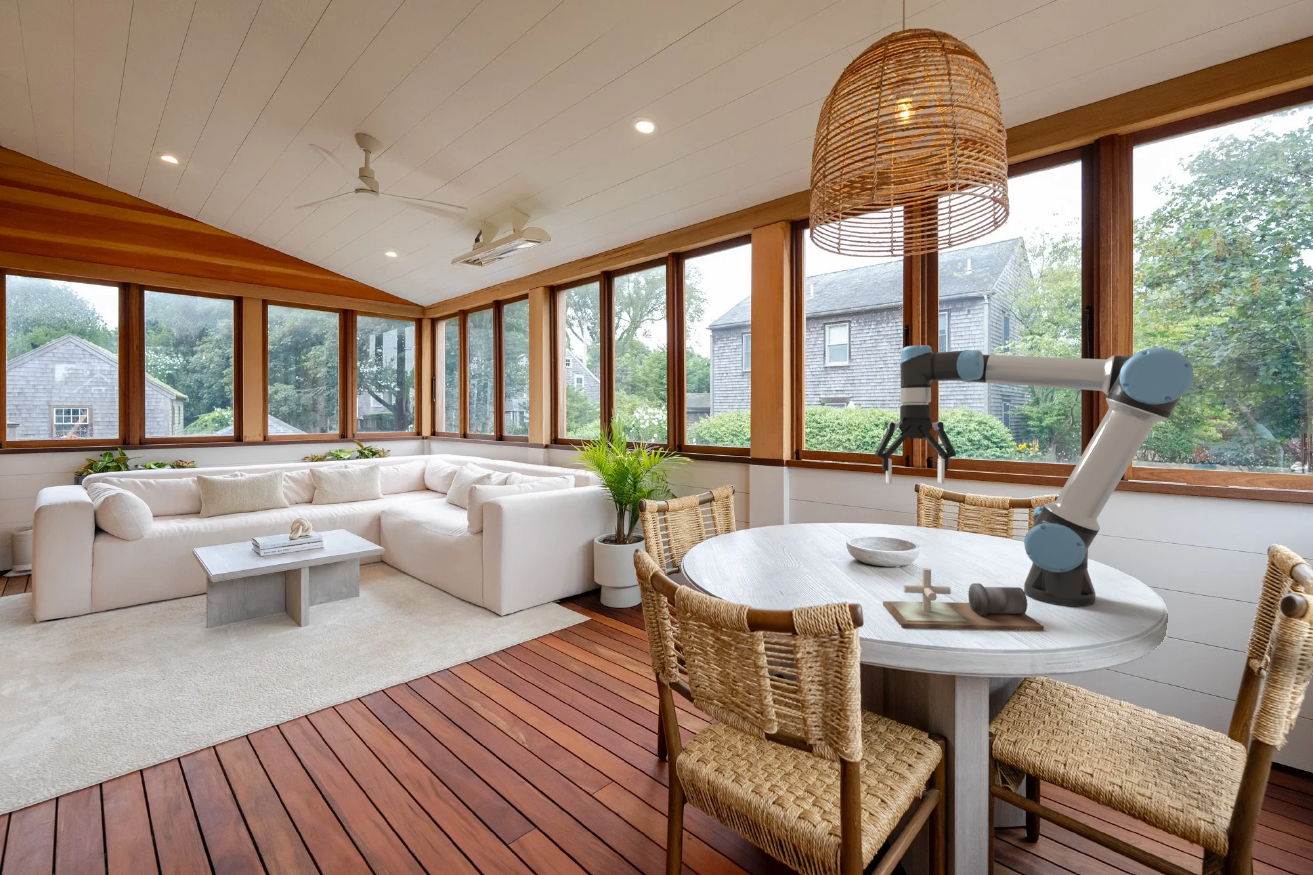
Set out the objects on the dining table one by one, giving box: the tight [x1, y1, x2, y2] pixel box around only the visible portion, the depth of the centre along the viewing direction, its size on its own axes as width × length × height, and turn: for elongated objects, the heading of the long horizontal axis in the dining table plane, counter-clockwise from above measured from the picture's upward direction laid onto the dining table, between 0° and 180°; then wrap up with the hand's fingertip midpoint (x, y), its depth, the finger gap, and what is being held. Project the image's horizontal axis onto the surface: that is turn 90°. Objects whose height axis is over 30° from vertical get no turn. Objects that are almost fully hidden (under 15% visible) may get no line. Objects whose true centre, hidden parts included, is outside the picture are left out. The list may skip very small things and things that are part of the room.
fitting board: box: [882, 582, 1045, 632], centre depth 138 cm, size 30×15×8 cm, turn 85°
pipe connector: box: [903, 567, 952, 612], centre depth 139 cm, size 10×10×10 cm
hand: (914, 482), depth 159 cm, fingers open, 13 cm apart
